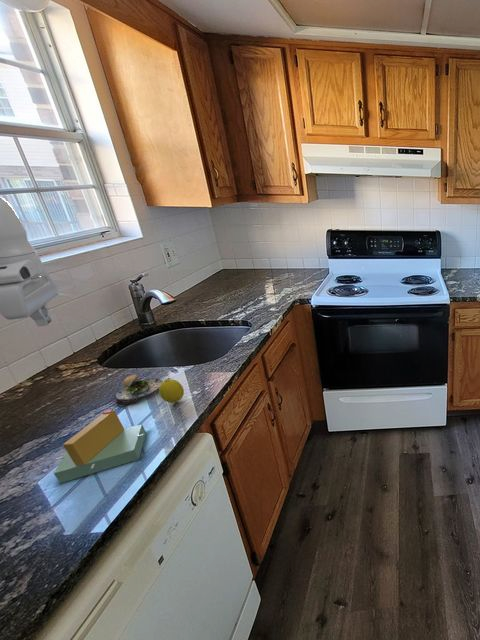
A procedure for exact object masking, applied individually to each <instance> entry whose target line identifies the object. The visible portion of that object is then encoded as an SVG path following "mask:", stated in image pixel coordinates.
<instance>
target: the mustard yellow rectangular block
mask: <svg viewBox="0 0 480 640" xmlns="http://www.w3.org/2000/svg"><path fill="white" fill-rule="evenodd" d="M124 429H125V428H124V426H123V424H122V422H121V420H120V418H119V417H118V414H117V413H116V410H113V409H108V410H107V409H106V410H104V411H103V412H102V413H101V414H100V415H99V416H97V417H96V418H95V419H93V420H92V421H90V423H88V424H87V425H86V426H84V427H83V428H82V429H80V431H78V432H77V433H75V434H74V435H72V437H70V438H69V439H67V440H66V441H65V442H64V443H63V444H62V446H63V447H64V449H65V452H66V451H67V452H68V454H69V456H70V457H71V459H72V461H73V462H74V464H75V465H85V464H86V463H87V462H88V461H90V460H91V459H92V458H93V457H94V456H95V455H96V454H97V453H99V452H100V451H101V450H102V449H103V448H104V447H105V446H106V445H108V444H109V443H110V442H111V441H112V440H113V439H114V438H116V437H117V436H118V435H119V434H120V433H121V432H122V431H123V430H124Z"/></svg>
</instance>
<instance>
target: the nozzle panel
mask: <svg viewBox="0 0 480 640" xmlns="http://www.w3.org/2000/svg"><path fill="white" fill-rule="evenodd" d="M146 436H147V432H146V430H145V427H144V425H143V424H141V423H140V424H138V425H137V424H136V425H133V426H131V427H126V428H124V430H123V431H122V432H121V433H120V434H119V435H118V436H117V437H116V438H114V439H113V440H112V441H111V442H110V443H109V444H108V445H106V446H105V447H104V448H103V449H102V450H101V451H100V452H99V453H97V454H96V455H95V456H94V457H93V458H92V459H91V460H90V461H88V462H87V463H86V464H85V465H75V464H74V462H73V461H72V459H71V457H70V456H69V454H68V452H67V451H66V450H65V453H64V454H63V456H60V457H56V458H54V460H55V461H57V460H60V461H59V463H58V465H57V467H56V468H55V470H54V471H53V475H54V476H55V477H56V479H57V480H58V482H59V484H62V483H66V482H69V481H72V480H75V479H79V478H83V477H86V476H89V475H92V474H96V473H99V472H102V471H105V470H109V469H113V468H115V467H118V466H123V465H126V464H129V463H131V462H134V461H138V460H140V458H141V454H142V450H143V446H144V443H145V440H146Z"/></svg>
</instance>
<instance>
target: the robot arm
mask: <svg viewBox="0 0 480 640" xmlns="http://www.w3.org/2000/svg"><path fill="white" fill-rule="evenodd" d="M58 295H59V290H58V287H57V285H56V284H55V282H54V280H53V278H52V277H51V275H50V274H49V272H48V271H47V269H46V268H45V266H44V265H43V263H42V260H41V258H40V256H39V253H38V252H37V249H36V248H35V247H33V245H32V244H31V243H30V242H29V239H28V234H27V230H26V228H25V227H24V225H23V223H22V221H21V219H20V218H19V215H18V214H17V212H16V211H15V210H14V208H13V207H12V205H11V204H10V202H8V201H7V200H6V199H5V198H3V197H2V196H0V315H1V316H2V317H3V318H5V319H6V320H8V321H13V320H19V319H24V318H29V317H30V319H31V320H33V321H34V322H35V324H36V326H37V327H39V328H41V327H46V326H48V325H49V324H50V323H51V322H53V319H52V318H51V316H50V310H49V305H48V304H47V303H49V302H51V300H52V299H54V298H56V296H58Z"/></svg>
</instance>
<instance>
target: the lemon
mask: <svg viewBox="0 0 480 640" xmlns="http://www.w3.org/2000/svg"><path fill="white" fill-rule="evenodd" d="M158 393H159V396H160V398H161V399H162V400H163V401H164V402H166V403H169V404H170V403H173V404H178V402H179V401H181V399H183V397H184V394H185V390H184V386H183V385H182V384H181V382H179V381H178V380H177V379H171V378H166V379H165V380H163V381H162V383H161V385H160V387H159V388H158Z"/></svg>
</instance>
